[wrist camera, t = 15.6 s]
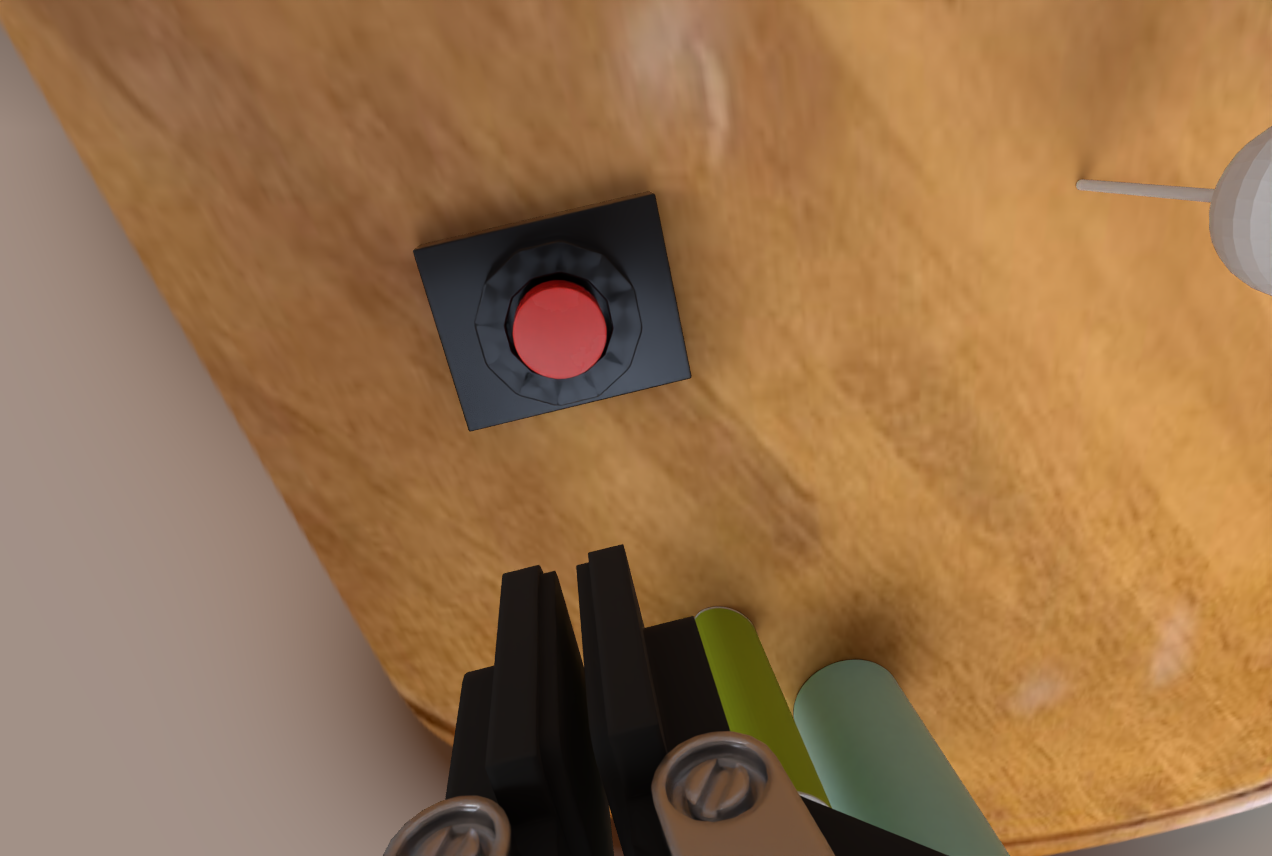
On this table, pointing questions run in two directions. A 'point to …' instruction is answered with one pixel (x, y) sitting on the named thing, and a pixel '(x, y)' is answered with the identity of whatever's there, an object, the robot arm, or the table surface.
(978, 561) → the table surface
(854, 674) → the spray bottle
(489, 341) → the button box
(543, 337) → the button
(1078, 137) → the table surface
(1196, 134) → the table surface
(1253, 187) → the lollipop
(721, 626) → the vape
